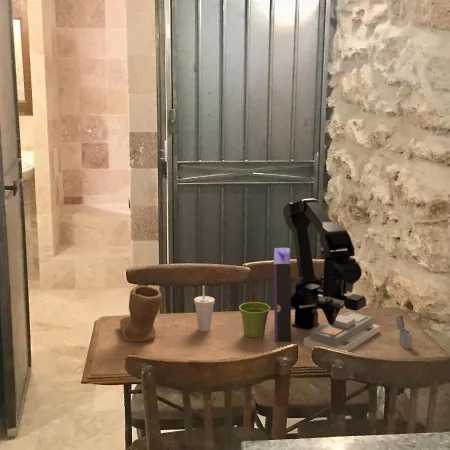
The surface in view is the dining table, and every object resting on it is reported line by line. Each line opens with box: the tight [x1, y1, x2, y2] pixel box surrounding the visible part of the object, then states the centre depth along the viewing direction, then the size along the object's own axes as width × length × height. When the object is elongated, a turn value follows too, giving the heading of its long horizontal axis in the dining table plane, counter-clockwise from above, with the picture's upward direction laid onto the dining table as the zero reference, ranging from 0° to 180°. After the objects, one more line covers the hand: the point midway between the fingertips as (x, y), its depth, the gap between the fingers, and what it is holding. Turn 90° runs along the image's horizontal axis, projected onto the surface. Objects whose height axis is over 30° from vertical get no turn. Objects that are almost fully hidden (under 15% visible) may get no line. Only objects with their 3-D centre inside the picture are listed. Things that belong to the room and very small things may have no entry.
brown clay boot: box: [119, 285, 163, 343], centre depth 198 cm, size 15×12×15 cm
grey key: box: [332, 314, 355, 330], centre depth 197 cm, size 5×5×2 cm
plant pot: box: [238, 301, 271, 338], centre depth 200 cm, size 9×9×9 cm
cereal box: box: [273, 247, 292, 343], centre depth 201 cm, size 17×5×24 cm, turn 175°
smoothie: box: [193, 285, 216, 332], centre depth 203 cm, size 6×6×14 cm
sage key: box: [347, 313, 366, 323], centre depth 203 cm, size 5×5×2 cm
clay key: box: [319, 326, 343, 337], centre depth 192 cm, size 5×5×2 cm
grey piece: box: [303, 310, 380, 352], centre depth 198 cm, size 12×24×4 cm, turn 140°
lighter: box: [395, 314, 413, 350], centre depth 194 cm, size 7×2×8 cm, turn 15°
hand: (331, 324), depth 191 cm, fingers closed
